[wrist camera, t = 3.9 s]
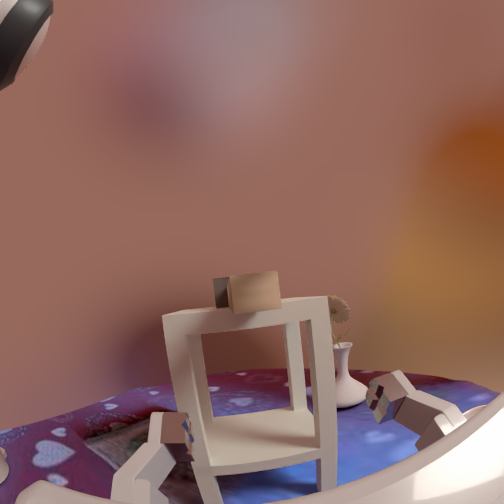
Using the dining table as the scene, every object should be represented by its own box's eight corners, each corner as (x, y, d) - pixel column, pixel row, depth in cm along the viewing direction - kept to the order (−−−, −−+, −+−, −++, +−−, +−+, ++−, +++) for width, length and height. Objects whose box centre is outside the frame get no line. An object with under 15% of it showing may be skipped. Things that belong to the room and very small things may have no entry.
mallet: (209, 316, 16) (203, 260, 17) (217, 307, 34) (214, 280, 35) (304, 305, 17) (297, 251, 17) (263, 302, 35) (259, 275, 36)
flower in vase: (379, 399, 47) (372, 288, 51) (336, 418, 44) (327, 296, 48) (346, 387, 60) (338, 292, 64) (307, 400, 56) (297, 299, 60)
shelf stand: (207, 513, 20) (162, 315, 24) (210, 460, 34) (183, 309, 38) (336, 491, 22) (327, 296, 26) (306, 446, 35) (292, 297, 40)
